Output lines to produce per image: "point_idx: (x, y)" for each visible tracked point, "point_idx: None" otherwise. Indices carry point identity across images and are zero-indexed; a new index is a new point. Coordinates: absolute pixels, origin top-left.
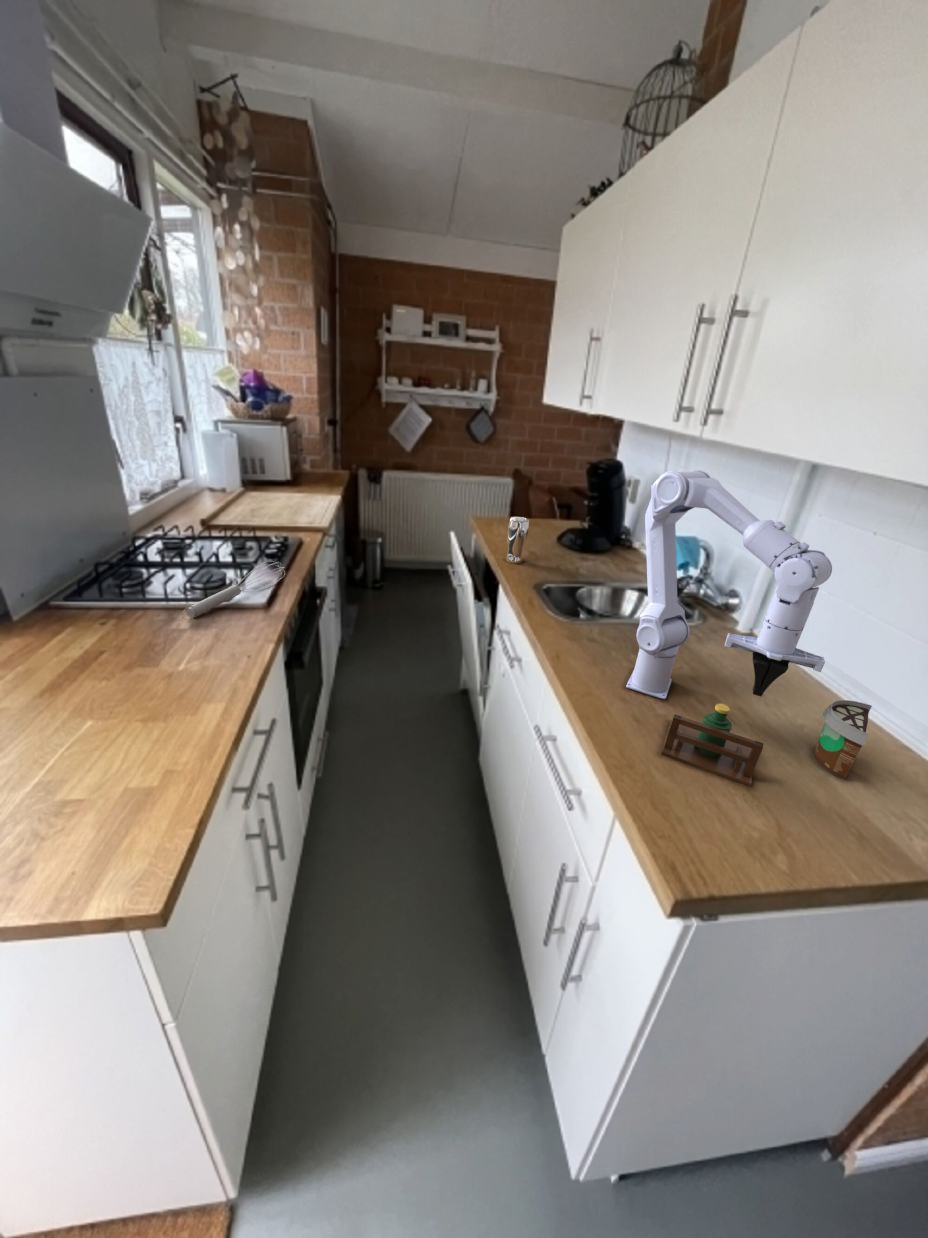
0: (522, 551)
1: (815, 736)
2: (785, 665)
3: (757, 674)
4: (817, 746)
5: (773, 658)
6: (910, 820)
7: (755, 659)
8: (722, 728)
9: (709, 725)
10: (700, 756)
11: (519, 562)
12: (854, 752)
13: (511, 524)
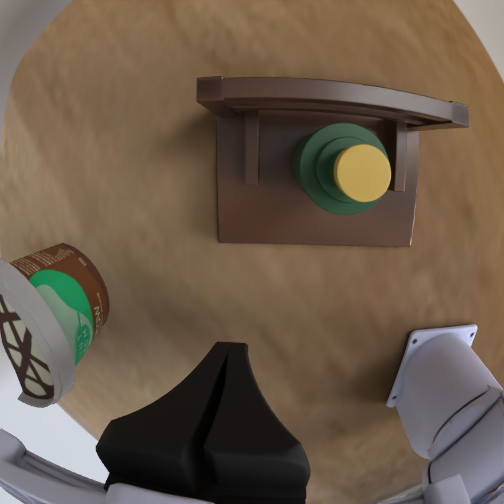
0: None
1: (117, 360)
2: (114, 464)
3: (253, 403)
4: (97, 305)
5: (166, 500)
6: (3, 192)
7: (293, 475)
8: (330, 127)
9: (369, 131)
10: (339, 121)
11: (500, 485)
12: (23, 261)
13: None
